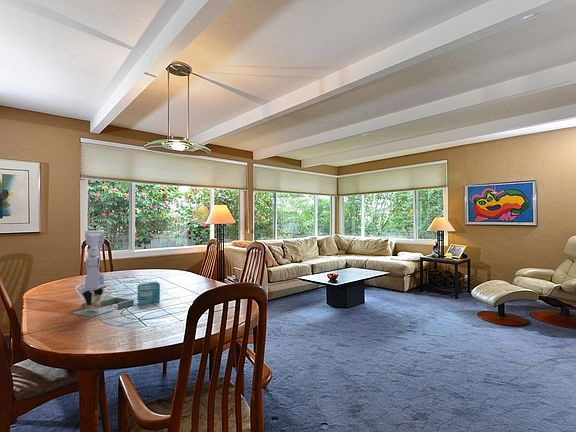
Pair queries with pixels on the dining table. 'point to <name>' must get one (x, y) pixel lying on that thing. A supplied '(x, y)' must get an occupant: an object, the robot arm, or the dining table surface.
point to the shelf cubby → (121, 302)
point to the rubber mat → (92, 312)
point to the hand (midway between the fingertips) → (92, 303)
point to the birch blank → (93, 302)
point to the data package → (148, 292)
